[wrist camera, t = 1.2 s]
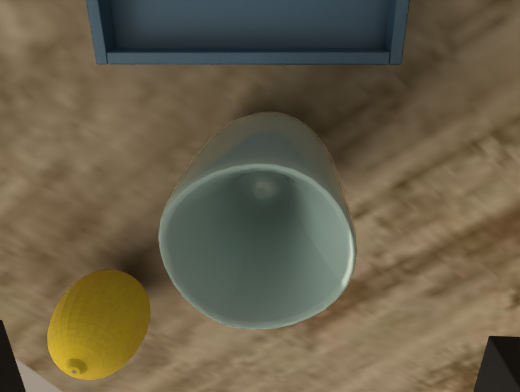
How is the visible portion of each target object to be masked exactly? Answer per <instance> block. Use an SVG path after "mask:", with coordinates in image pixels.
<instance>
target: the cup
mask: <svg viewBox="0 0 520 392" xmlns="http://www.w3.org/2000/svg"><path fill="white" fill-rule="evenodd" d="M158 240H159V251H160V254H161V258H162V261H163V264H164V267H165V269H166V271H167V273H168V275H169V277H170V279H171V281H172V283H173V284H174V285H175V287H176V288H177V289H178V290H179V292H180V293H181V294H182V296H183V297H184V298H185V299H186V300H187V301H188V302H189V303H190V304H191V305H192V306H193V307H194V308H196V309H197V310H198V311H200V312H201V313H203V314H204V315H206V316H207V317H209V318H211V319H213V320H215V321H217V322H220V323H222V324H224V325H228V326H232V327H236V328H241V329H256V330H261V329H272V328H279V327H283V326H288V325H292V324H295V323H298V322H300V321H303V320H306V319H308V318H310V317H312V316H314V315H316V314H317V313H319V312H321V311H323V310H324V309H326V308H327V307H328V306H329V305H330V304H332V303H333V302H334V301H335V300H336V299H338V298H339V296H340V295H341V294H342V292H343V291H344V290H345V289H346V287H347V286H348V284H349V282H350V280H351V277H352V275H353V272H354V269H355V262H356V255H357V246H356V234H355V227H354V222H353V218H352V215H351V211H350V207H349V204H348V200H347V197H346V194H345V190H344V187H343V184H342V180H341V177H340V174H339V171H338V169H337V167H336V164H335V162H334V160H333V158H332V156H331V155H330V153H329V151H328V149H327V147H326V145H325V144H324V143H323V142H322V140H321V139H320V138H319V136H318V135H317V134H316V133H315V131H313V130H312V129H311V128H310V127H309V126H308V125H307V124H305V123H304V122H303V121H301V120H299V119H297V118H295V117H293V116H292V115H288V114H284V113H281V112H266V111H265V112H258V113H252V114H249V115H246V116H243V117H240V118H237V119H235V120H233V121H231V122H230V123H228V124H226V125H224V126H223V127H222V128H220V129H219V130H218V131H217V132H215V133H214V134H213V135H212V136H210V137H209V138H208V139H207V140H206V141H205V143H204V144H203V145H202V146H201V147H200V149H199V150H198V151H197V152H196V154H195V155H194V156H193V158H192V159H191V160H190V162H189V163H188V165H187V167H186V168H185V170H184V172H183V173H182V175H181V177H180V178H179V180H178V182H177V184H176V185H175V187H174V189H173V191H172V193H171V195H170V197H169V199H168V201H167V203H166V205H165V208H164V210H163V212H162V215H161V220H160V226H159V232H158Z"/></svg>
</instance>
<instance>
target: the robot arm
mask: <svg viewBox="0 0 520 392" xmlns="http://www.w3.org/2000/svg"><path fill="white" fill-rule="evenodd" d="M0 392H25V388H24V385H23V382H22V379H21V376H20V373H19V370H18V367H17V364H16V361H15V358H14V355H13V352H12V349H11V345H10V342H9V339H8V336H7V333H6V330H5V327H4V324H3V321H2V320H0ZM473 392H520V337H506V336H489V338H488V342H487V345H486V349H485V353H484V356H483V360H482V363H481V367H480V370H479V374H478V377H477V381H476V384H475V388H474V391H473Z"/></svg>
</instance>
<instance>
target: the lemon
mask: <svg viewBox="0 0 520 392" xmlns="http://www.w3.org/2000/svg"><path fill="white" fill-rule="evenodd" d="M149 320H150V303H149V298H148V296H147V293H146V291H145V289H144V288H143V286H142V285H141V284H140V282H139V281H138V280H136V279H135V278H134V277H133V276H131V275H129V274H127V273H125V272H121V271H117V270H101V271H97V272H94V273H91V274H89V275H86V276H85V277H83V278H82V279H80V280H79V281H77V282H76V283H75V284H74V285H72V286H71V287H70V288H69V289H68V290H67V292H66V293H65V294H64V296H63V297H62V298H61V300H60V301H59V303H58V304H57V306H56V308H55V310H54V312H53V315H52V318H51V321H50V325H49V329H48V334H47V341H48V349H49V352H50V355H51V357H52V359H53V361H54V362H55V363H56V365H57V366H58V367H59V368H60V369H61V370H62V371H63V372H65V373H66V374H68V375H70V376H72V377H75V378H79V379H89V380H91V379H98V378H103V377H106V376H108V375H110V374H112V373H114V372H116V371H117V370H119V369H120V368H121V367H122V366H123V365H125V364H126V363H127V362H128V361H129V360H130V359H131V357H132V356H133V355H134V354H135V352H136V351H137V349H138V347H139V346H140V344H141V343H142V341H143V339H144V337H145V335H146V332H147V329H148V324H149Z"/></svg>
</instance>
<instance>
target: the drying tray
mask: <svg viewBox="0 0 520 392" xmlns="http://www.w3.org/2000/svg"><path fill="white" fill-rule="evenodd" d="M86 2H87V8H88V14H89V20H90V26H91V32H92V39H93V45H94V51H95V57H96V63H97V64H291V65H387V64H390V65H400V64H401V62H402V54H403V47H404V39H405V31H406V23H407V16H408V8H409V0H86Z"/></svg>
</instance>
